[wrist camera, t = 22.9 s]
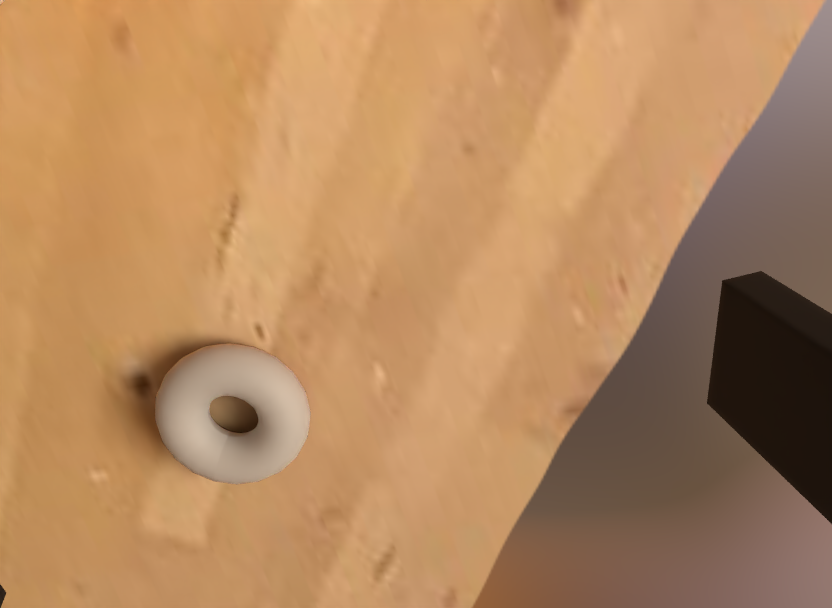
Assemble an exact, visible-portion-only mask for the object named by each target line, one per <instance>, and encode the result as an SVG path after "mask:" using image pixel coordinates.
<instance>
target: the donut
mask: <svg viewBox="0 0 832 608" xmlns="http://www.w3.org/2000/svg"><path fill="white" fill-rule="evenodd" d="M220 396H232V397H237V398H240V399H242V400H244V401H246V402H247V403H248V404H250V405H251V406H252V407H253V408H254V409H255V411H256V412H257V415H258V419H259V421H258V424H257V426H256V428H254V429H253V430H251V431H249V432H246V433H236V432H230V431H228V430H226V429H223V428H222V427H220V426H219V425H218V424H217V423H215V421H214V420H213V418H212V417H211V415H210V412H209V406H210V404H211V402H212V401H213V400H214V399H216V398H218V397H220ZM155 420H156V424H157V427H158V430H159V433H160V436H161V438H162V441H163V443H164V444H165V446H166V447H167V448H168V450H169V451H170V452H171V454H172V455H173V456H174V458H175V459H176V460H177V461H179V462H180V463H181V464H183V465H184V466H185V467H186V468H188V469H189V470H190V471H192V472H193V473H195V474H198V475H200V476H203V477H205V478H207V479H210V480H212V481H216V482H223V483H230V484H243V483H251V482H258V481H261V480H263V479H265V478H267V477H270V476H272V475H274V474H277V473H279V472H281V471H282V470H283V469H284V468H285V467H286V466H287V465H289V464H290V463H291V462H292V461H293V460H294V459H295V458H296V457H297V455H298V454H299V452H300V450H301V448H302V446H303V444H304V443H305V441H306V439H307V437H308V431H309V423H310V408H309V404H308V400H307V396H306V391H305V390H304V388H303V387H302V385H301V383H300V382H299V380H298V379H297V377H296V376H295V374H294V372H293V371H291V370H290V369H289V368H288V367H287V366H286V365H284V364H283V363H282V362H281V361H280V360H279V359H277V358H276V357H275V356H273V355H271V354H269V353H266V352H264V351H262V350H260V349H258V348H255V347H252V346H245V345H239V344H232V343H225V344H218V345H210V346H204V347H202V348H200V349H198V350H196V351H194V352H192V353H190V354H188V355H186V356H184V357H182V358H181V359H180V360H179V361H178V362H177V363H176V364H175V365H174V366H173V367H172V368H171V369H170V370H169V371H168V372H167V373H166V374H165V377H164V379H163V382H162V384H161V386H160V389H159V391H158V393H157V396H156V402H155Z"/></svg>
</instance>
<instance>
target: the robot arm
mask: <svg viewBox="0 0 832 608" xmlns="http://www.w3.org/2000/svg"><path fill="white" fill-rule="evenodd" d="M707 404H709V405H710V406H711V407H712V408H713V409H714V410H715V411H716V412H717V413H718V414H719V415H720V416H721V417H722V418H723V419H724V420H725V421H726V422H727V423H728V424H729V425H730V426H731V427H732V428H733V429H735V431H736V432H737V433H738V434H739V435H740V436H741V437H743V438H744V439H745V440H746V441H747V442H748V443H749V444H750V445H751V446H752V447H753V448H754V449H755V450H756V451H757V452H758V453H759V454H760V455H761V456H762V457H763V458H764V459H765V460H766V461H768V463H769V464H770V465H772V466H773V467H774V468H775V469H776V470H777V471H778V472H779V473H780V474H781V475H782V476H783V477H784V478H785V479H786V480H787V481H788V482H789V483H790V484H791V485H792V486H793V487H794V488H795V489H796V490H797V491H798V492H799V493H800V494H801V495H802V496H804V497H805V498H806V499H807V500H808V501H809V502H810V503H811V504H812V505H813V506H814V507H815V508H816V509H817V510H818V511H819V512H820V513H821V514H822V515H823V516H824V517H825V518H826V519H827V520H828V521H829V522H830V523H832V314H831V313H829V312H827V311H826V310H824V309H823V308H821V307H819V306H817V305H816V304H815V303H813V302H811V301H810V300H808V299H806V298H805V297H803V296H801V295H800V294H798V293H796V292H795V291H793V290H792V289H790V288H788V287H787V286H785V285H783V284H782V283H780V282H778V281H777V280H775V279H773V278H772V277H770V276H768V275H767V274H765V273H764V272H762V271H760V272H756V273H752V274H747V275H744V276H740V277H735V278H731V279H727V280H723V281H722V288H721V296H720V304H719V312H718V321H717V328H716V336H715V344H714V352H713V360H712V368H711V376H710V384H709V392H708V399H707ZM5 595H6V592H5V590H4V589H3V587H2V586H1V585H0V608H1V605H2V603H3V600H4V597H5Z"/></svg>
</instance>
